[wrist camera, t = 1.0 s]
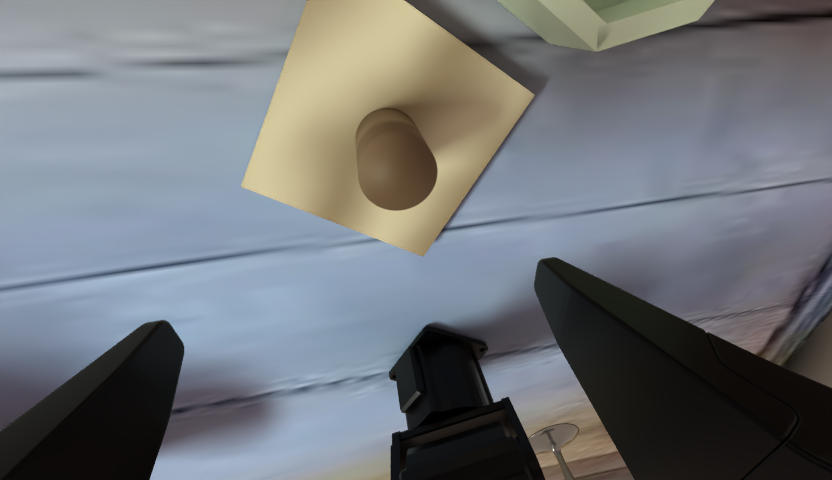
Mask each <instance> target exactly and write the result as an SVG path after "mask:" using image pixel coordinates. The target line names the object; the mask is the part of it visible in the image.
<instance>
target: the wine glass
mask: <svg viewBox="0 0 832 480" xmlns="http://www.w3.org/2000/svg"><path fill="white" fill-rule="evenodd" d="M578 432H579V431H578V428H577V427H576V426H575V425H572V424H558V425H553V426H550V427H547V428H545V429H542V430H540V431H538V432H536V433H535V434H533V435H532V436H531V437H530V438H529V441H530V444H531V446H532V448H533V450H534V452H535V455H540V454H547V453H551V452H553V453H554V455H555V457H556V458H557V460H558V463H559V465H560V467H561V469H562V472H563V474H564V477H565V480H575V478H574V477H573V475H572V473H571V472H570V470H569V468H568V466H567V464H566V462H565V460H564V458H563V456H562V453H561V450H560V449H561V448H563V447H565V446H567V445H568V444H570V443H571V442H572V441H573V440H574V439H575V438H576V437H577V435H578Z"/></svg>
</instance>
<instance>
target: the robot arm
mask: <svg viewBox="0 0 832 480" xmlns="http://www.w3.org/2000/svg"><path fill="white" fill-rule="evenodd" d="M534 288H535V292H536V295H537V297H538V299H539V302H540V304H541V306H542V309H543V311H544V313H545V316H546V318H547V320H548V323H549V325H550V327H551V330H552V332H553V334H554V337H555V339H556V341H557V343H558V345H559V347H560V349H561V351H562V352H563V354H564V356H565V358H566V359H567V361H568V363H569V365H570V367H571V368H572V370H573V372H574V374H575V375H576V377H577V379H578V381H579V382H580V384H581V386H582V388H583V389H584V391H585V393H586V395H587V397H588V398H589V400H590V402H591V404H592V405H593V407H594V409H595V411H596V412H597V414H598V416H599V418H600V419H601V421H602V423H603V425H604V427H605V428H606V430H607V432H608V434H609V435H610V437H611V439H612V441H613V442H614V444H615V446H616V448H617V449H618V451H619V453H620V455H621V456H622V458H623V460H624V462H625V464H626V465H627V467H628V469H629V471H630V472H631V474H632V476H633V478H634V479H635V480H832V388H830V387H828V386H825V385H823V384H821V383H818V382H816V381H814V380H811V379H809V378H807V377H804V376H802V375H800V374H798V373H795V372H793V371H790V370H788V369H786V368H784V367H782V366H779V365H777V364H775V363H773V362H770V361H768V360H766V359H764V358H761V357H759V356H757V355H755V354H753V353H751V352H749V351H747V350H744V349H742V348H740V347H738V346H736V345H734V344H732V343H730V342H728V341H726V340H724V339H721V338H719V337H717V336H715V335H713V334H711V333H709V332H707V333H706V332H705V331H704V330H703V329H701V328H699V327H697V326H695V325H693V324H691V323H689V322H687V321H685V320H683V319H681V318H679V317H676V316H674V315H672V314H670V313H668V312H666V311H664V310H662V309H660V308H658V307H656V306H654V305H652V304H650V303H648V302H646V301H644V300H642V299H640V298H638V297H636V296H634V295H632V294H630V293H628V292H626V291H624V290H621V289H619V288H617V287H615V286H613V285H611V284H609V283H607V282H605V281H603V280H601V279H599V278H597V277H595V276H593V275H591V274H589V273H587V272H585V271H583V270H581V269H579V268H577V267H575V266H573V265H571V264H569V263H566V262H564V261H562V260H560V259H558V258H555V257H552V258H545V259H541V260H540V261H539V262H538V265H537V270H536V276H535V282H534ZM487 350H488V347H487V344H486V343H485V342H481V341H478V340H475V339H471V338H468V337H464V336H461V335H457V334H454V333H450V332H447V331H443V330H440V329H436V328H433V327H426V328H424V329H423V330H422V331H421V332H420V333H419V335H418V336H417V337H416V339H415V340H414V341H413V342H412V344H411V345H410V346H409V347H408V349H407V350H406V351H405V352H404V354H403V355H402V356H401V358H400V359H399V360H398V361H397V363H396V364H395V365H394V367H393V368H392V369H391V371H390V372H389V377H390V379H391V380H394V381H397V389H398V396H399V403H400V409H401V412H402V413H406V420H407V427H408V430H406V431H403V432H400V431H399V432H395V433H393V434H392V445H391V480H545V478H544V475H543V472H542V470H541V467H540V465H539V462H538V460H537V457H536V455H535V452H534V450H533V448H532V446H531V444H530V441H529V439H528V437H527V435H526V433H525V431H524V429H523V427H522V425H521V422H520V420H519V418H518V416H517V414H516V412H515V410H514V408H513V406H512V403H511V401H510V399H509V397H506V398H503V399H501V401H498V402H495V403H494V402H493V399H492V396H491V394H490V391H489V388H488V386H487V383H486V380H485V378H484V375H483V372H482V370H481V367H480V364H479V362H478V360H479V359H480V358H481V357H482V356H483V355H484V354H485V353H486V352H487ZM183 356H184V345H183V342H182V341H181V339H180V338H179V336H178V335H177V333H176V332H175V330H174V329H173V327H172V326H171V324H170V323H169V322H167V321H165V320H160V321H154V322H148V323H145V324H143V325H141V326H140V327H139V328H137V329H136V330H135V331H133V332H132V333H131V334H129V335H128V336H127V337H125V338H124V339H123V340H121V341H120V342H119V343H117V344H116V345H115V346H113V347H112V348H111V349H109V350H108V351H107V352H105V353H104V354H103V355H101V356H100V357H99V358H97V359H96V360H95V361H93V362H92V363H91V364H89V365H88V366H87V367H85V368H84V369H83V370H81V371H80V372H79V373H78V374H76V375H75V376H74V377H72V378H71V379H70V380H68V381H67V382H66V383H64V384H63V385H62V386H60V387H59V388H58V389H56V390H55V391H54V392H52V393H51V394H50V395H48V396H47V397H46V398H44V399H43V400H42V401H40V402H39V403H38V404H36V405H35V406H34V407H32V408H31V409H30V410H28V411H27V412H26V413H24V414H23V415H22V416H20V417H19V418H18V419H16V420H15V421H14V422H12V423H11V424H10V425H8V426H7V427H6V428H4V429H3V430H2V431H0V480H149V479H150V476H151V473H152V470H153V467H154V464H155V461H156V458H157V455H158V452H159V449H160V446H161V443H162V440H163V437H164V434H165V431H166V428H167V425H168V422H169V418H170V415H171V411H172V407H173V402H174V398H175V393H176V388H177V384H178V379H179V375H180V370H181V365H182V361H183Z"/></svg>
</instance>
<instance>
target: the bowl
mask: <svg viewBox="0 0 832 480" xmlns="http://www.w3.org/2000/svg"><path fill="white" fill-rule="evenodd" d="M497 1H498V2H499V3H501V4H502V5H503V6H504V7H505V8H507V9H508V10H509V11H510V12H511V13H513V14H514V15H515V16H516V17H517V18H519V19H520V20H521V21H522V22H523V23H525V24H526V25H527V26H528V27H529V28H531V29H532V30H533V31H534V32H536V33H537V34H538V35H539V36H540V37H542V38H543V39H544V40H545V41H546V42H548V43H549V44H554V45H560V46H566V47H571V48H577V49H583V50H588V51H594V52H598V51H601V50H604V49H608V48H611V47H614V46H617V45H620V44H624V43H627V42H630V41H633V40H636V39H640V38H643V37H646V36H649V35H652V34H656V33H659V32H662V31H665V30H668V29H672V28H675V27H678V26H681V25H685V24H688V23H691V22H694V21H697V20H699V19H700V17H701V16H702V15H703V14H704V13H705V11H706V10H707V9H708V8H709V6H710V5H711V4H712V3H713V2H714V0H497Z"/></svg>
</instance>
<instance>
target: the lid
mask: <svg viewBox="0 0 832 480" xmlns="http://www.w3.org/2000/svg"><path fill="white" fill-rule="evenodd" d="M534 96H535V95H534V94H533V93H532V92H530V91H529V90H527V89H526V88H525V87H523V86H522V85H520V84H519V83H518V82H516V81H515V80H514V79H512V78H511V77H509V76H508V75H507V74H505V73H504V72H503V71H501V70H500V69H498V68H497V67H496V66H494V65H493V64H491V63H490V62H489V61H487V60H486V59H485V58H483V57H482V56H480V55H479V54H478V53H476V52H475V51H474V50H472V49H471V48H469V47H468V46H467V45H465V44H464V43H462V42H461V41H460V40H458V39H457V38H456V37H454V36H453V35H451V34H450V33H449V32H447V31H446V30H445V29H443V28H442V27H440V26H439V25H438V24H436V23H435V22H433V21H432V20H431V19H429V18H428V17H427V16H425V15H424V14H422V13H421V12H420V11H418V10H417V9H416V8H414V7H413V6H411V5H410V4H409V3H407V2H406V1H404V0H307V2H306V5H305V7H304V10H303V13H302V16H301V19H300V22H299V24H298V27H297V30H296V33H295V36H294V38H293V41H292V44H291V47H290V50H289V52H288V55H287V58H286V61H285V64H284V67H283V69H282V72H281V75H280V78H279V81H278V83H277V86H276V89H275V92H274V95H273V98H272V100H271V103H270V106H269V109H268V112H267V114H266V117H265V120H264V123H263V126H262V129H261V131H260V134H259V137H258V140H257V143H256V145H255V148H254V151H253V154H252V157H251V160H250V162H249V165H248V168H247V171H246V174H245V176H244V179H243V182H242V185H241V187H243V188H246V189H249V190H251V191H254V192H256V193H259V194H262V195H264V196H267V197H269V198H272V199H275V200H277V201H280V202H282V203H285V204H288V205H290V206H293V207H295V208H298V209H301V210H303V211H306V212H309V213H311V214H314V215H316V216H319V217H322V218H324V219H327V220H329V221H332V222H335V223H337V224H340V225H342V226H345V227H348V228H350V229H353V230H355V231H358V232H361V233H363V234H366V235H368V236H371V237H374V238H376V239H379V240H381V241H384V242H387V243H389V244H392V245H395V246H397V247H400V248H402V249H405V250H408V251H410V252H413V253H415V254H418V255H421V256H424V255H425V253H426V252H427V251H428V249H429V248H430V246H431V245H432V243H433V242H434V240H435V239H436V237H437V236H438V235H439V233H440V232H441V230H442V229H443V227H444V226H445V224H446V223H447V222H448V220H449V219H450V217H451V216H452V214H453V213H454V211H455V210H456V209H457V207H458V206H459V204H460V203H461V201H462V200H463V198H464V197H465V195H466V194H467V193H468V191H469V190H470V188H471V187H472V185H473V184H474V182H475V181H476V180H477V178H478V177H479V175H480V174H481V172H482V171H483V169H484V168H485V167H486V165H487V164H488V162H489V161H490V159H491V158H492V156H493V155H494V153H495V152H496V151H497V149H498V148H499V146H500V145H501V143H502V142H503V140H504V139H505V138H506V136H507V135H508V133H509V132H510V130H511V129H512V127H513V126H514V125H515V123H516V122H517V120H518V119H519V117H520V116H521V114H522V113H523V111H524V110H525V109H526V107H527V106H528V104H529V103H530V101H531V100H532V98H533V97H534Z"/></svg>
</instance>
